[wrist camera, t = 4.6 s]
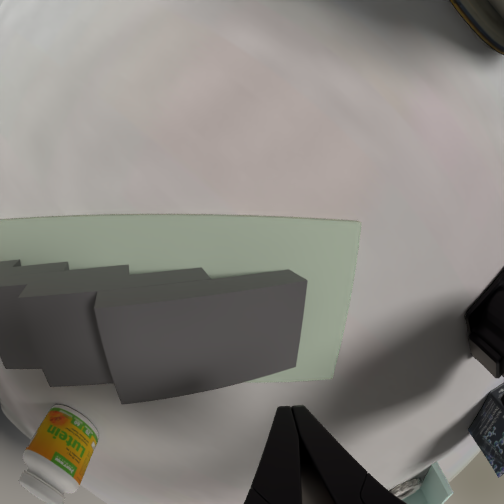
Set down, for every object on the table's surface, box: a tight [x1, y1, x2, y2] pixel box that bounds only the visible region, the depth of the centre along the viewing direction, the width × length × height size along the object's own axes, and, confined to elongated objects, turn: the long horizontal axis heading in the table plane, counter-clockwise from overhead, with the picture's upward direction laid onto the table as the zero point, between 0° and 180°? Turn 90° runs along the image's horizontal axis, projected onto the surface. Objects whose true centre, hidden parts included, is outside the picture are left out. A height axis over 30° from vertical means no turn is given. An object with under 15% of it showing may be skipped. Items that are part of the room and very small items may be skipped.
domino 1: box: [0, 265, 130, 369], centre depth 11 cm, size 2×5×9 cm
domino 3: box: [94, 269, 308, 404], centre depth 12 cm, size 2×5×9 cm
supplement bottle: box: [19, 405, 99, 504], centre depth 13 cm, size 5×5×10 cm
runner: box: [0, 214, 361, 382], centre depth 14 cm, size 30×10×1 cm, turn 88°
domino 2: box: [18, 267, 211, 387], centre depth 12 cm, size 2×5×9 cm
